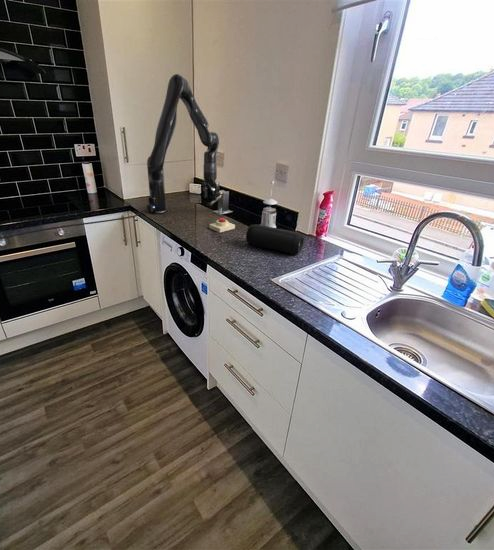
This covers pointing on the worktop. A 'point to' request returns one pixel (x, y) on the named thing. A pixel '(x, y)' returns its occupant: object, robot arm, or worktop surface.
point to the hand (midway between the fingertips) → (210, 199)
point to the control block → (221, 226)
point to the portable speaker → (275, 238)
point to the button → (222, 220)
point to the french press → (269, 213)
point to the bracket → (223, 203)
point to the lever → (214, 201)
